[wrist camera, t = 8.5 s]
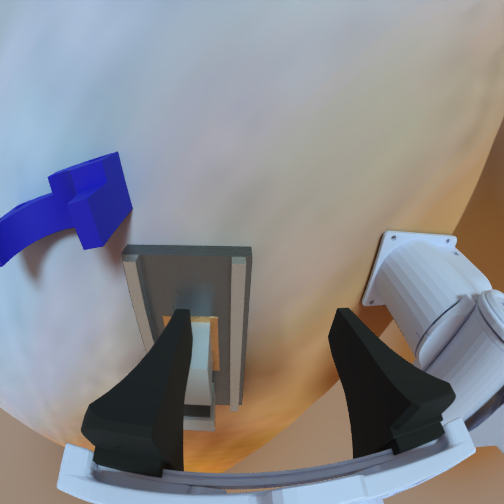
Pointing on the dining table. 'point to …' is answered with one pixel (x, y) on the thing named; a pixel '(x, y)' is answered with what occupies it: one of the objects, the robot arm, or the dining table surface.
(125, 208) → the cable clip
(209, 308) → the rail
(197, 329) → the pale grey block
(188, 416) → the small hollow grey box
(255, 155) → the dining table surface
